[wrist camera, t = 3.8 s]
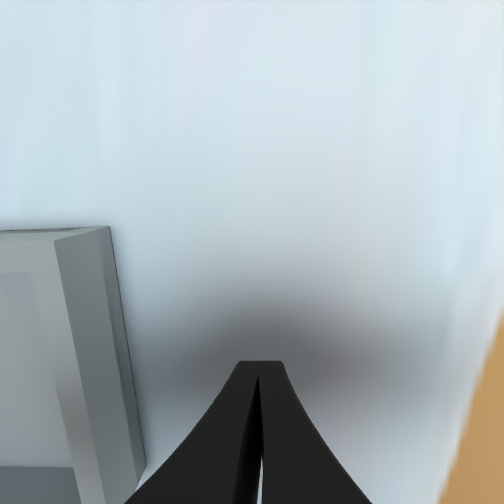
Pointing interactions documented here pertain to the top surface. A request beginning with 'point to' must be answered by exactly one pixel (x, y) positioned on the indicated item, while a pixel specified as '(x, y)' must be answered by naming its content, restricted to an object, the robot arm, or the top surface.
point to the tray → (65, 372)
